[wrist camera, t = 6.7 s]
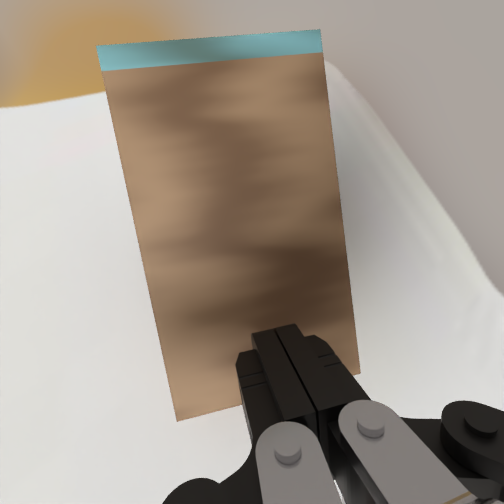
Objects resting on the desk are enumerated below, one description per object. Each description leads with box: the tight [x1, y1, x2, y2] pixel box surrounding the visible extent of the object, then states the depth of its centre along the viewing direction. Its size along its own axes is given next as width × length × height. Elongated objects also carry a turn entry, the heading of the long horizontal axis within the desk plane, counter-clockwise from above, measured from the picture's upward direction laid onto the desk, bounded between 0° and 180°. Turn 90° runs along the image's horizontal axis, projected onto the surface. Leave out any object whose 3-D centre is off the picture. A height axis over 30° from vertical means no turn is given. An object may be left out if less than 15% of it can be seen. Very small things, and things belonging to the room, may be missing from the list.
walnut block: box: [96, 29, 361, 422], centre depth 14 cm, size 8×4×14 cm
